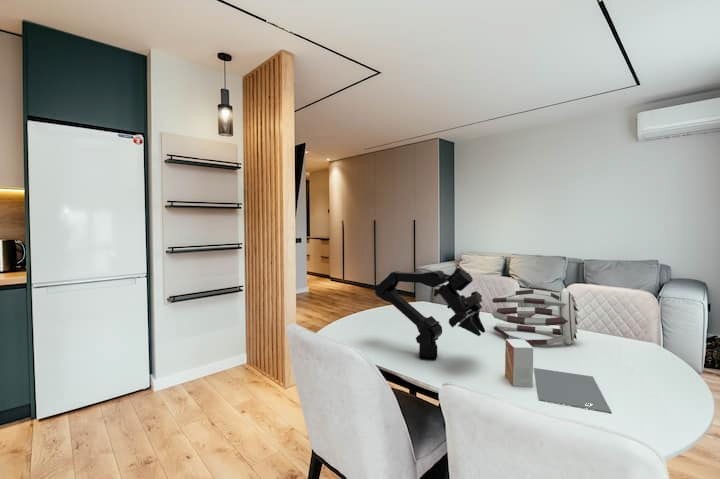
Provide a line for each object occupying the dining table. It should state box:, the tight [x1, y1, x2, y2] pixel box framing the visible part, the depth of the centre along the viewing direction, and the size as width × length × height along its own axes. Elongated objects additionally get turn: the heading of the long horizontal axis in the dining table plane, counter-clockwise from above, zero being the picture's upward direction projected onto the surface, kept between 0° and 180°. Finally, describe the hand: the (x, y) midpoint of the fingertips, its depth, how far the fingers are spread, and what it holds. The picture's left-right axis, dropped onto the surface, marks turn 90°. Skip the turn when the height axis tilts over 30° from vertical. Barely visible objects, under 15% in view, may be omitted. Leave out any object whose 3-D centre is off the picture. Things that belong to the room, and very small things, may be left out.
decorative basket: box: [491, 287, 580, 346], centre depth 156 cm, size 24×27×35 cm
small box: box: [504, 338, 534, 388], centre depth 115 cm, size 8×6×13 cm
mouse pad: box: [533, 367, 612, 414], centre depth 110 cm, size 18×24×1 cm
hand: (482, 333), depth 122 cm, fingers open, 4 cm apart
